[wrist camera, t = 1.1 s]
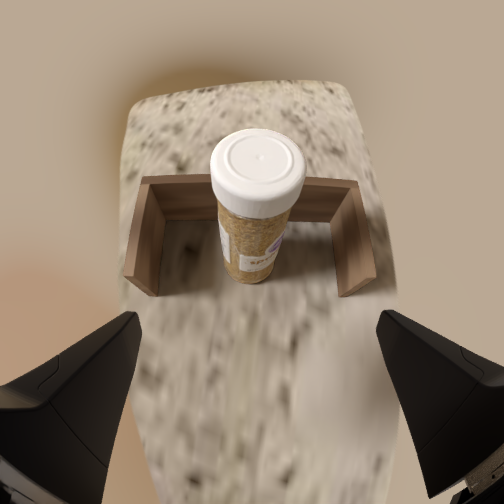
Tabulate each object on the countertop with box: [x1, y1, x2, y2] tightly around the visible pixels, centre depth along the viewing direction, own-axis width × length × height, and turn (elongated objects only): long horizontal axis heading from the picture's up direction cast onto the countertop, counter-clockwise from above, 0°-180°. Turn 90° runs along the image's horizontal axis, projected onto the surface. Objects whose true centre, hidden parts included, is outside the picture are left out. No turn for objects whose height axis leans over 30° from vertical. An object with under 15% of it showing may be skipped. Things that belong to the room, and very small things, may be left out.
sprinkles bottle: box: [210, 128, 307, 284], centre depth 18 cm, size 5×5×13 cm
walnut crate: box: [123, 174, 377, 297], centre depth 22 cm, size 8×18×6 cm, turn 90°
